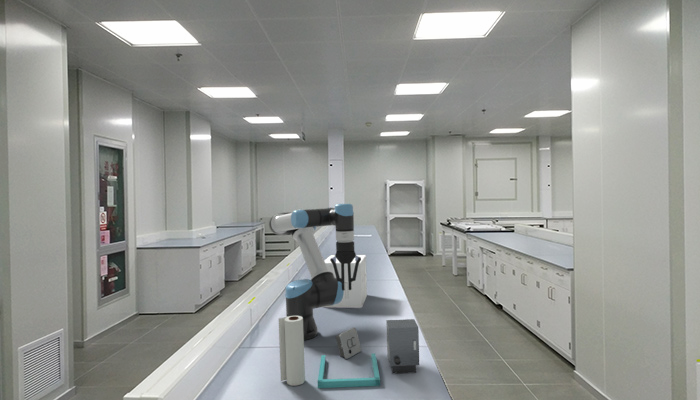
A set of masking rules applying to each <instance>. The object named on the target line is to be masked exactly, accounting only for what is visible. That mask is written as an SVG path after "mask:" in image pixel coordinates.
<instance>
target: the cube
mask: <svg viewBox="0 0 700 400" xmlns="http://www.w3.org/2000/svg"><path fill="white" fill-rule="evenodd" d="M356 255H357V256H358V257H361V261H360V262H359V265H358V270H357V275H356V280H355V281H352V282H351V290H349V299H345V290H344V294H343V299H342V301H341V302H340V303H338V304H334V305H332V306H331V305H330V306H325V307H324V308H338V309H339V308H343V309H344V308H346V309H347V308H348V309H349V308H350V309H351V308H352V309H362V308H363V305H364V304H365V302H366V299H367V296H368V282H367V281H368V280H367V277H368V276H367V255H366V254H356ZM334 256H335V254H332V255H331V254H330V255H329V256H328V257H327V258H326V259H324V261H325V264H326V266H327V269H328V271H330V272H332V273H333V275H334V277H335V278H336V274H335V271H334V267H333V264H332V262H331V261H330V259H331V258H333V257H334ZM355 263H356V261H355V258H354V259H353V261H352V262H351V263H350V264H351V278H353V273H354V268H355ZM336 265H337V269H338V273H339V276H340V278H341V263H340V262H339V261H338V259H337V258H336ZM347 281H348V264H344V282H346V292H347Z"/></svg>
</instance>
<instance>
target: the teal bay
mask: <svg viewBox="0 0 700 400" xmlns="http://www.w3.org/2000/svg"><path fill="white" fill-rule="evenodd" d="M370 357H371V358H370V359H371V365H372V373H373V377H355V378H354V377H353V378H351V377H350V378H325V377H324V376H325V372H326V371H325V370H326V369H325V368H326V360H327V359H326V358H327V356H326V354H321V357H320V363H319V370H318V376H317V389H327V388H329V389H331V388H351V387H352V388H354V387H357V388H358V387H379V386H381V378H380V372H379V366H378V362H377V355H376V352H375V353H373V352H372V353H370Z"/></svg>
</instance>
